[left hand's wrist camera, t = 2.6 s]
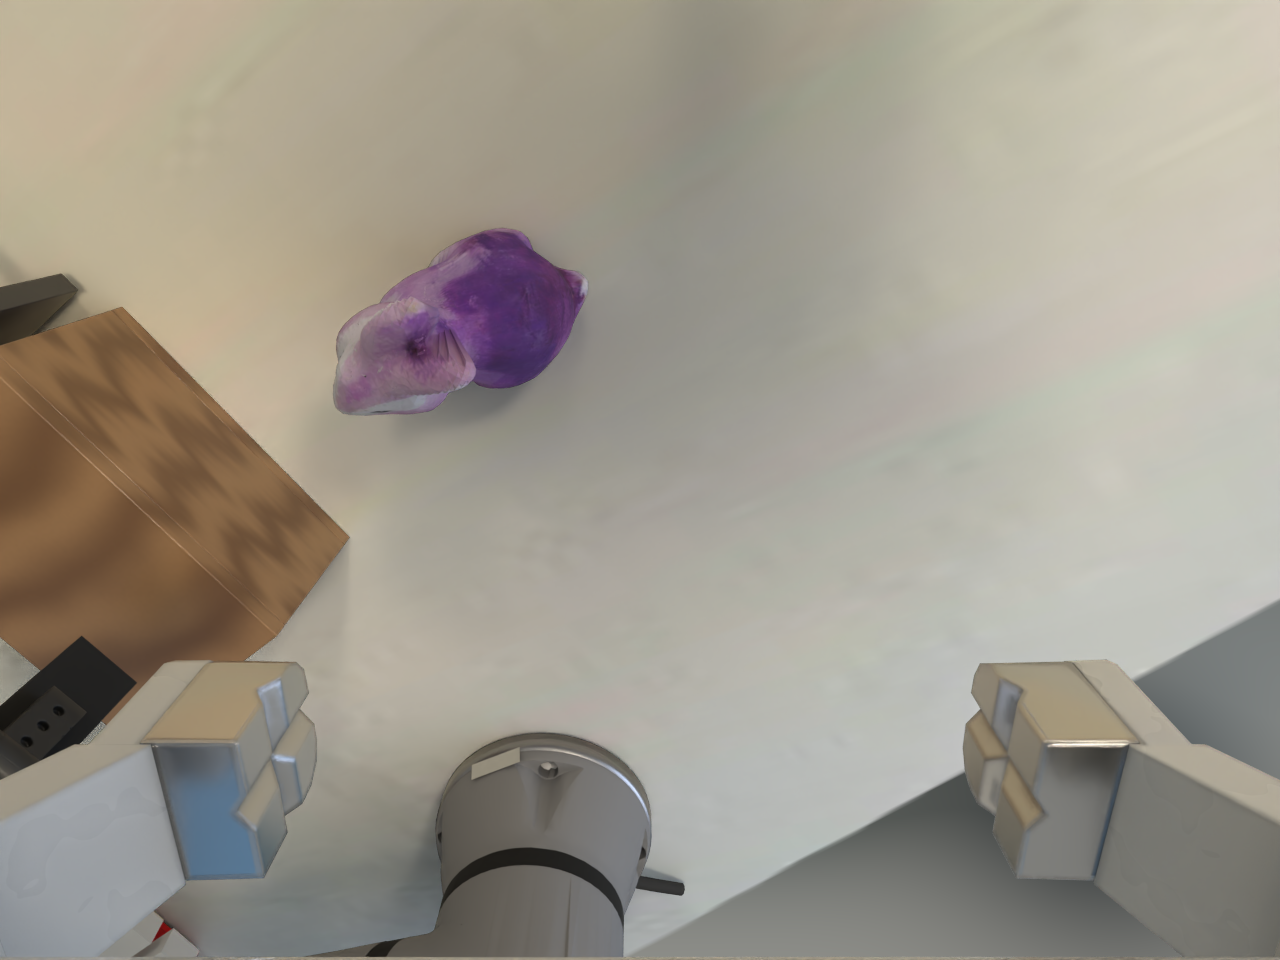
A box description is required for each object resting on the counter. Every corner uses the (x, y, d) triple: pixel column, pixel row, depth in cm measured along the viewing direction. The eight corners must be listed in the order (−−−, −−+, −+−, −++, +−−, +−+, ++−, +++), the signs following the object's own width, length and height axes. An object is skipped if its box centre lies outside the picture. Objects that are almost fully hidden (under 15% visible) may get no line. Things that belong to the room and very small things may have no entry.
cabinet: (-1, 421, 51) (-173, 495, 40) (122, 306, 48) (-26, 352, 38) (228, 630, 56) (131, 746, 46) (350, 537, 54) (277, 635, 43)
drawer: (-140, 298, 47) (-320, 334, 38) (-29, 182, 45) (-193, 192, 36) (176, 587, 54) (84, 674, 45) (286, 498, 52) (213, 572, 43)
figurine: (371, 347, 49) (264, 429, 35) (447, 186, 46) (363, 205, 32) (516, 426, 51) (470, 533, 37) (600, 275, 48) (583, 330, 34)
